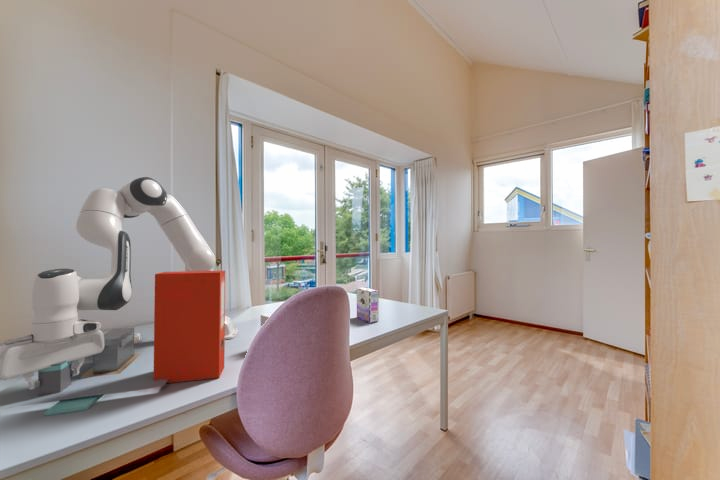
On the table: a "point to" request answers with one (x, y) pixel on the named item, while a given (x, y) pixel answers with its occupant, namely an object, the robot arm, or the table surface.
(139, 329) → the table surface
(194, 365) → the file binder
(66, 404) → the pad
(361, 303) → the candy box
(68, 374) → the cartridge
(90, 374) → the board
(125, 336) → the panel
